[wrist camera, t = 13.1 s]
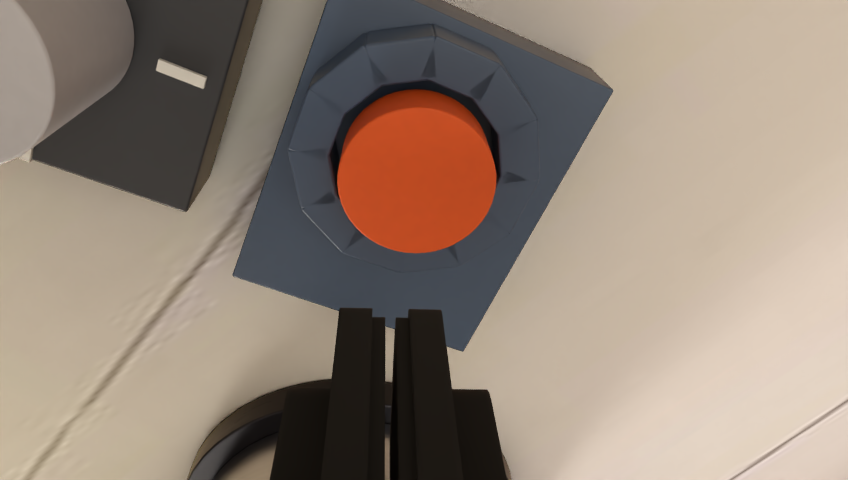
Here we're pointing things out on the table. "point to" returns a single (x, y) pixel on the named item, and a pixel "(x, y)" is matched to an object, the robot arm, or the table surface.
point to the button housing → (404, 70)
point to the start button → (416, 172)
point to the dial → (57, 64)
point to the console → (161, 103)
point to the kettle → (260, 440)
